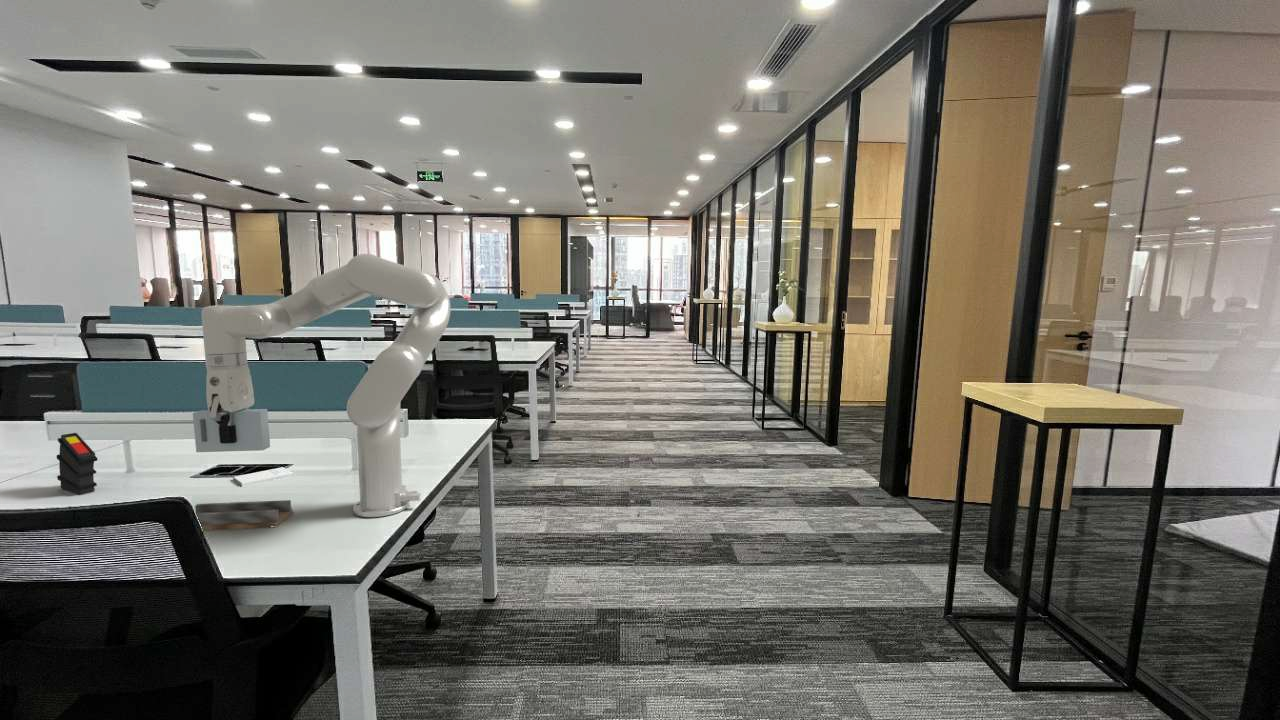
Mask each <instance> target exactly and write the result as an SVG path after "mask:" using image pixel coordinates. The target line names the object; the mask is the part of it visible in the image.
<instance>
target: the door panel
mask: <svg viewBox="0 0 1280 720" xmlns="http://www.w3.org/2000/svg"><path fill="white" fill-rule="evenodd" d="M222 412H228V411H224V410H223V411H222ZM222 416H225V417H226V418H227V415H222ZM192 420H193V429H194V430H193V431H194V441H195V452H196V453H216V452H217V453H221V452H226V453H227V452H254V451H255V452H256V451H265V450H267V449H269V448H271V441H270V440H271V439H270V428H269V427H270V426H269V416H268V408H253V409H252V408H249V409H243V410H240V411H237V412H234V413H233V425H235V427H236V439H237V442H236V443H220V436H219V427H218V426H217V422H216V421H215V420H213V419H210V412H209V410H208V409H205V410H204V409H203V410H202V409H201V410H198V411H195V412H192Z"/></svg>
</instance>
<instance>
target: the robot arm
mask: <svg viewBox="0 0 1280 720" xmlns="http://www.w3.org/2000/svg"><path fill="white" fill-rule="evenodd" d="M371 296H373V297H374V296H375V297H378V298H381V299H385V300H387V301H391V302H396V303H399V304H402V305H405V306H409V307H412V308H413V310H412V314H411V315H410V317H409V319H407V321H406V323H405V324H404V325H403V328H401V331H400V332H399V334H398V335H397V337H396V338H395V339H394V341H393V343H391V344H390V346H389V347H387V348H385V349H383V350H382V351H381V352H380V353H378V355H377V356H376V357H375V359H374V360H373V362H371V365H370V366H369V368H367V371H366V372H365V374H364V375H363V377H362V378H361V380H360V381H359V383H358V384H357V386H356V387H355V389H354V390H353V392H352V393H351V394H350V396H349V398H348V400H347V404H346V413H347V416H348V418H349V420H350V422H352V424H354V425H355V426H356V447H357V464H358V465H357V467H358V484H359V485H358V487H359V488H358V489H359V501H357V502H356V503H355V504H354V505H353V507H352V511H353V513H354V514H355V515H356V516H358V517H363V518H380V517H386V516H390V515H395V514H398V513H400V512H403V511H404V510H406V509H407V508H408V507H409V506H410V502H420V501H421V493H420V492H419V491H418V490H411V491H409V490H408V489H407V485H403V474H402V450H401V444H402V443H401V401H402V400H403V398H404V397H405V395H406V394H407V393H408V391H409V390H410V388H411V387H412V385H413V383H414V382H415V381H416V379H417V378H418V377H419V376H420V374H421V371H422V370H423V367H424V365H425V364H426V362H427V360H428V359H429V357H430V355H431V354H432V352H433V350H434V349H435V348H436V346H437V344H438V343H439V341H440V339H441V338H442V336H443V334H444V333H445V330H446V329H447V327H448V324H449V321H450V317H451V310H452V309H451V300H450V297H449V294H448V292H447V289H446V288H445V286H444V285H443V283H442V281H441V280H440V279H439V278H438V277H437V276H435V275H434V274H432V273H430V272H428V271H427V272H426V271H424V270H421V269H416V268H413V267H410V266H407V265H404V264H401V263H397V262H394V261H390V260H388V259H386V258H382V257H380V256H377V255H375V254H371V253H360V254H357V255H355V256H353V257H352V258H351V259H350V260H349V261H348V262H347V263H346V264H344V265H342V266H340V267H338V268H335V269H332V270H330V271H328V272H326V273H323V274H321V275H317V276H315V277H313V278H312V279H310V280H309V281H308V282H307V284H306V285H305V286H304V287H303V288H302V289H299V290H298V291H296V292H295V293H292V294H290V295H288V296H286V297H282V298H280V299H278V300H276V301H273V302H270V303H266V304H265V303H264V304H251V305H244V306H237V305H208V306H204V308H203V309H202V310H201V313H200V314H201V324H202V325H201V326H202V335H203V346H204V347H203V348H204V357H205V358H204V359H205V369H206V378H205V379H206V382H205V383H206V384H205V386H206V388H205V389H206V393H205V394H206V403H207V404H206V406H207V410H209V412H210V419H213V420H215V421H216V422H217V426H218V427H219V436H220V443H236V442H237V439H236V427H235V425H233V413H234V412H237V411H240V410H243V409H250V408H251V407H253V405H255V394H254V387H253V381H252V375H251V372H250V371H251V370H250V368H249V364H248V354H247V352H248V351H247V343H246V342H247V341H246V338H247V339H254V340H256V339H257V340H259V339H267V338H271V337H276V336H280V335H283V334H285V333H288V332H290V331H292V330H294V329H297V328H299V327H301V326H304V325H306V324H308V323H310V322H313V321H315V320H317V319H319V318H322V317H324V316H328V315H330V314H332V313H334V312H336V311H339V310H342V309H343V308H346V307H347V306H349V305H351V304H354V303H357V302H359V301H361V300H363V299H366V298H369V297H371ZM223 410H224V411H228V412H222V411H223ZM222 415H227V418H226V417H225V416H222Z"/></svg>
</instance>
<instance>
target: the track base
mask: <svg viewBox="0 0 1280 720" xmlns="http://www.w3.org/2000/svg"><path fill="white" fill-rule="evenodd" d="M194 507H195V513H196V515H197V517H198V520H199V522H200V524H201V527H202V529H203V531H220V530H219V529H225V530H243V529H244V530H245V528H247V529H259V528H258V527H268V528H272V527H271V526H274V527H273V528H276V527H275V526H277V525H278V526H279V525H281V524H282V523H283V522H284V521H285V520H287V519H288V518H289V517H291V516H292V515H293V514H292V513H294V512H293V509H292V500H291V499H285V500H284V499H283V500H262V501H261V500H259V501H239V502H238V501H236V502H235V501H234V502H210V503H196V504H195V505H194ZM287 517H288V518H287ZM282 521H283V522H282ZM281 522H282V523H281ZM278 526H277V527H278ZM210 529H211V530H210Z"/></svg>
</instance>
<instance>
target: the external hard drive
mask: <svg viewBox="0 0 1280 720" xmlns="http://www.w3.org/2000/svg"><path fill="white" fill-rule="evenodd" d="M293 475H294V473H293V472H292V471H290V470H289V469H287V468H285V467H282V466H281V467H277V468H271V469H267V470H261V471H256V472H252V473H246V474H241V475H235V476H233V477H232V480H233V481H234V482H235V483H236V482H237V483H236V484H238V485H240V486H241V487H242V486H243V487H247V486H251V484H252V485H255V483H257V484H260V483H259V482H261V483H265V482H264V481H266V482H269V480H270V481H274V479H275V480H279V479H278V478H280V479H283V477H284V478H288V476H289V477H293ZM246 485H247V486H246Z"/></svg>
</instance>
